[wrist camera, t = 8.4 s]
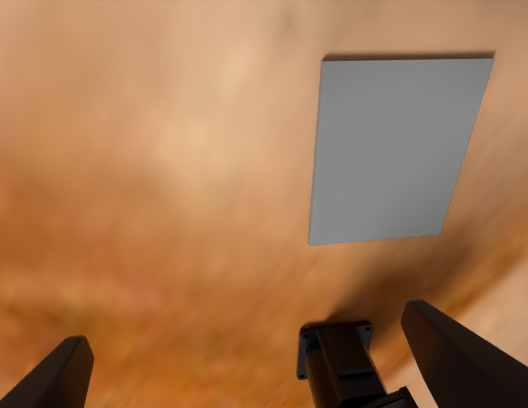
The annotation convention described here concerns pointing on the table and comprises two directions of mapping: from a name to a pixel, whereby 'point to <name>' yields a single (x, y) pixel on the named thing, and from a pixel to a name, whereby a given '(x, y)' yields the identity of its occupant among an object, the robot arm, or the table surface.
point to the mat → (391, 145)
